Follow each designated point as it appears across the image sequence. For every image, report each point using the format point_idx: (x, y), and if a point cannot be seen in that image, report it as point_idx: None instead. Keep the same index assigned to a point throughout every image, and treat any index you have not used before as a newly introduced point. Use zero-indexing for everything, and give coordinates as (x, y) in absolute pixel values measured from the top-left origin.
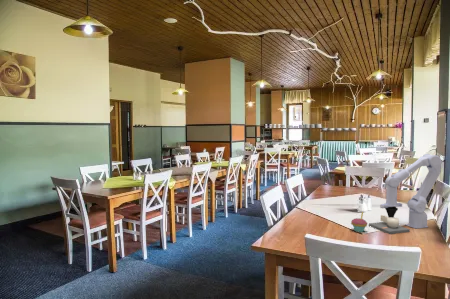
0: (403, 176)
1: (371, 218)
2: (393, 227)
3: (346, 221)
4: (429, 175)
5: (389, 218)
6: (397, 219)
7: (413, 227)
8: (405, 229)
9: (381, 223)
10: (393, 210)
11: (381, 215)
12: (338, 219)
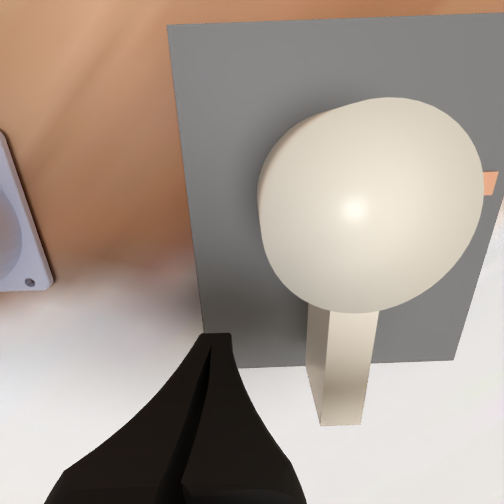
0: None
1: None
2: None
3: (491, 458)
4: None
5: (424, 247)
6: (332, 140)
7: (13, 167)
8: (236, 38)
9: None
10: (210, 455)
11: (350, 420)
12: (497, 497)
